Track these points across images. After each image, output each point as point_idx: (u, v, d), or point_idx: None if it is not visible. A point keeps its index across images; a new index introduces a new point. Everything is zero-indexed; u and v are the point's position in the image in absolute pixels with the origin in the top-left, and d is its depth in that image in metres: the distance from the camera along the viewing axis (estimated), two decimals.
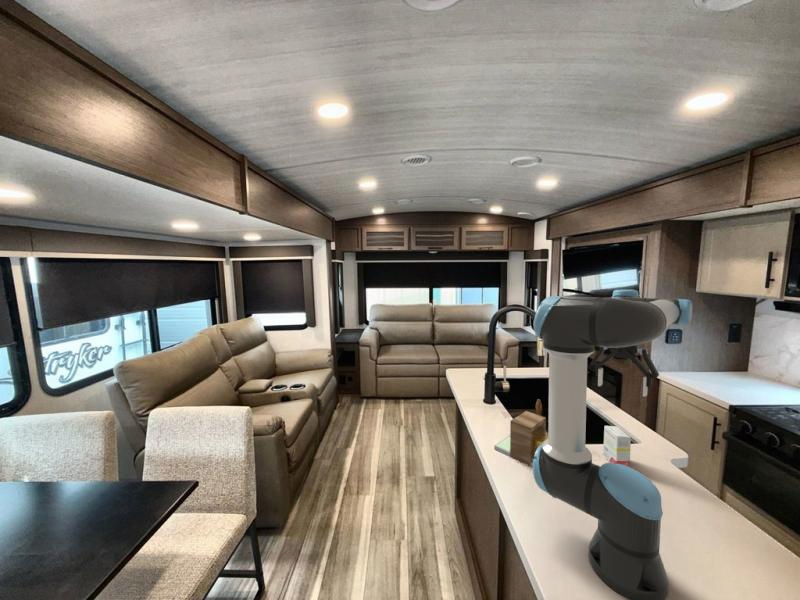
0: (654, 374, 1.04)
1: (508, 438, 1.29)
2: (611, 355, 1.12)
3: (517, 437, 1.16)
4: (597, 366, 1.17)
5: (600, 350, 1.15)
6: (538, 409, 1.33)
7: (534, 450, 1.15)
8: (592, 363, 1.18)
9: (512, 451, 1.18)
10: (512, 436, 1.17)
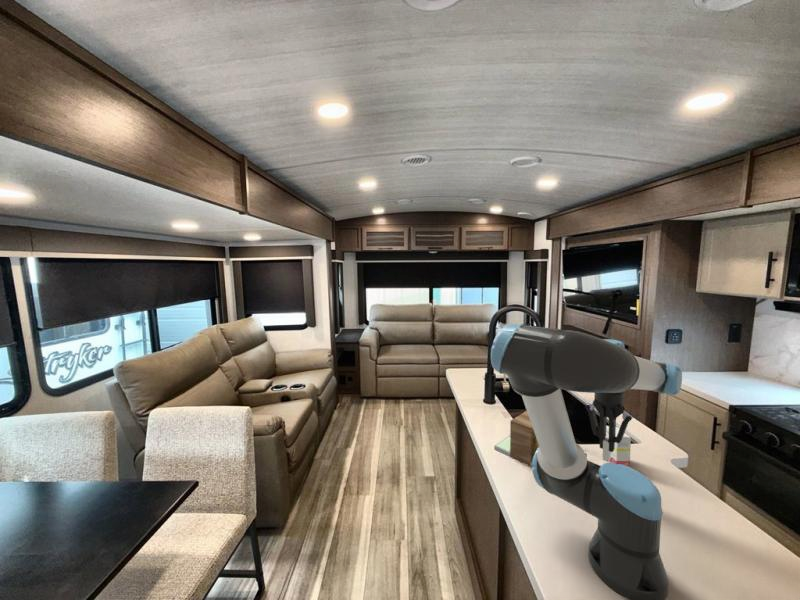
0: (618, 439, 0.96)
1: (508, 438, 1.29)
2: (601, 417, 0.98)
3: (517, 437, 1.16)
4: (601, 436, 0.99)
5: (589, 413, 1.01)
6: None
7: (534, 450, 1.15)
8: (595, 432, 1.00)
9: (512, 451, 1.18)
10: (512, 436, 1.17)
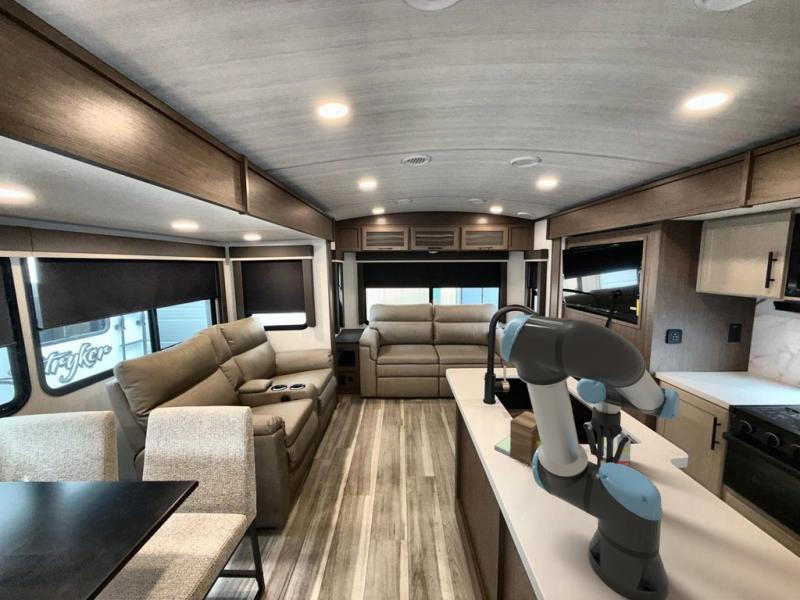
0: (615, 460, 0.96)
1: (508, 438, 1.29)
2: (599, 436, 0.99)
3: (517, 437, 1.16)
4: (598, 456, 1.00)
5: (587, 432, 1.02)
6: None
7: (534, 450, 1.15)
8: (592, 451, 1.01)
9: (512, 451, 1.18)
10: (512, 436, 1.17)
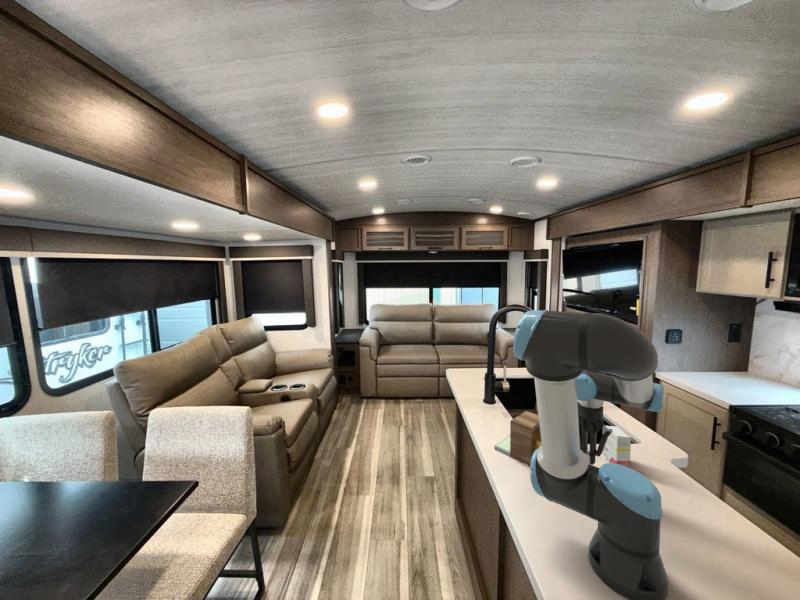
0: (598, 453, 1.00)
1: (508, 438, 1.29)
2: (583, 431, 1.03)
3: (517, 437, 1.16)
4: (582, 450, 1.04)
5: None
6: None
7: None
8: None
9: (512, 451, 1.18)
10: (512, 436, 1.17)
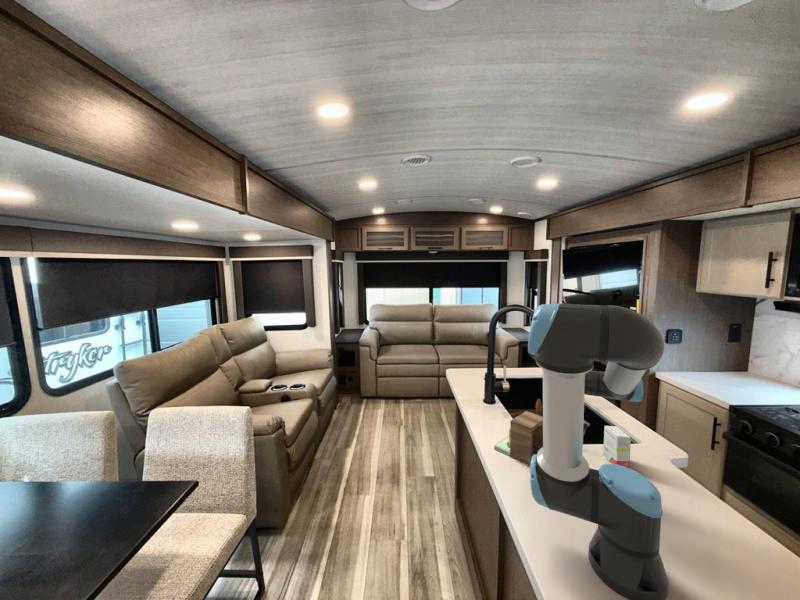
0: None
1: (508, 438, 1.29)
2: None
3: (517, 437, 1.16)
4: None
5: None
6: (538, 409, 1.33)
7: None
8: None
9: (512, 451, 1.18)
10: (512, 436, 1.17)
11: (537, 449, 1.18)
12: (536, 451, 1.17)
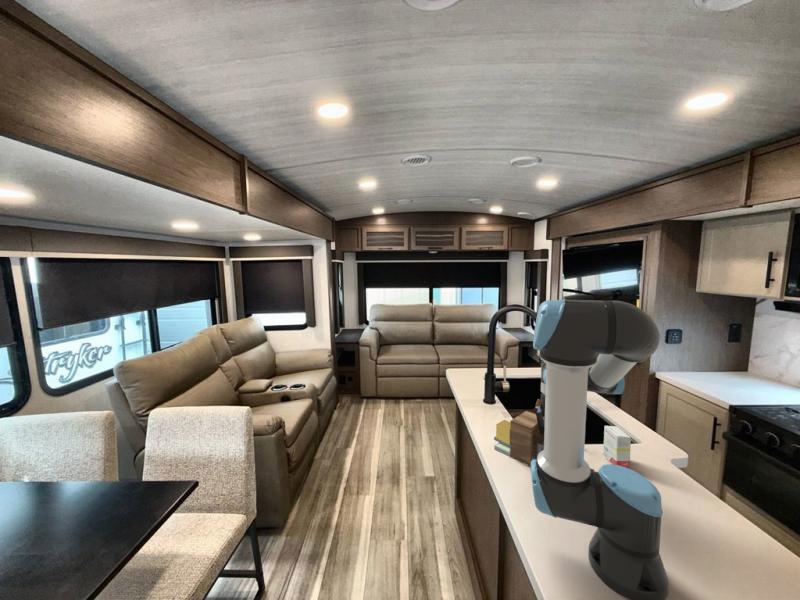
0: None
1: None
2: None
3: (517, 437, 1.16)
4: None
5: (537, 415, 1.15)
6: None
7: (502, 437, 1.24)
8: (541, 432, 1.14)
9: (512, 451, 1.18)
10: (512, 436, 1.17)
11: None
12: None
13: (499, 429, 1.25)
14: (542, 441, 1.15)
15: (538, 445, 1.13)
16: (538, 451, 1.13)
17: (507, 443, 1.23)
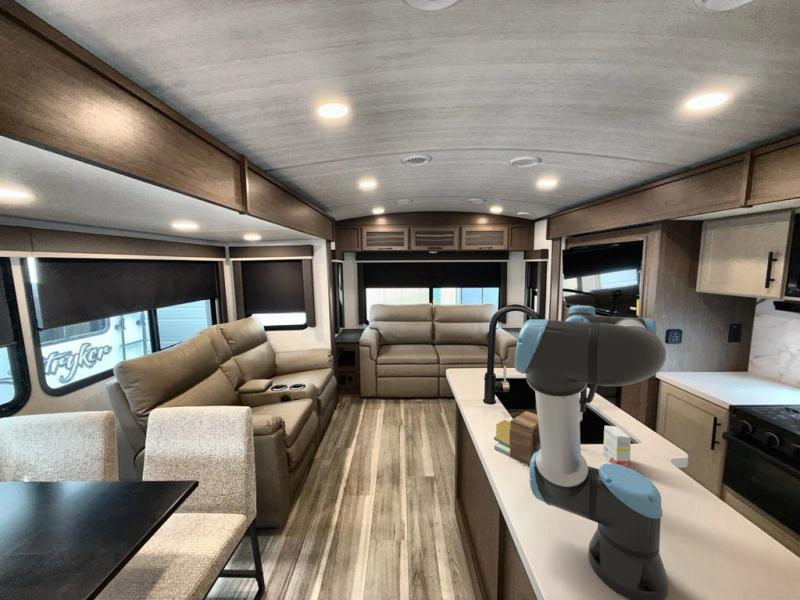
0: (588, 400, 1.01)
1: None
2: None
3: (517, 437, 1.16)
4: None
5: None
6: None
7: (502, 437, 1.24)
8: None
9: (512, 451, 1.18)
10: (512, 436, 1.17)
11: None
12: None
13: (499, 429, 1.25)
14: None
15: (538, 445, 1.13)
16: None
17: (507, 443, 1.23)
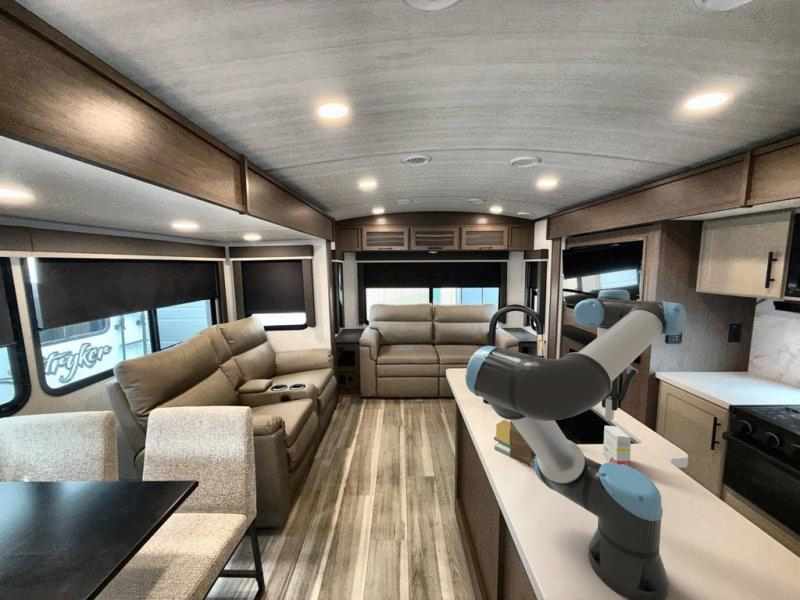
0: (622, 396, 0.89)
1: None
2: None
3: (517, 437, 1.16)
4: None
5: None
6: None
7: (502, 437, 1.24)
8: None
9: (512, 451, 1.18)
10: (512, 436, 1.17)
11: None
12: None
13: (499, 429, 1.25)
14: None
15: None
16: None
17: (507, 443, 1.23)
